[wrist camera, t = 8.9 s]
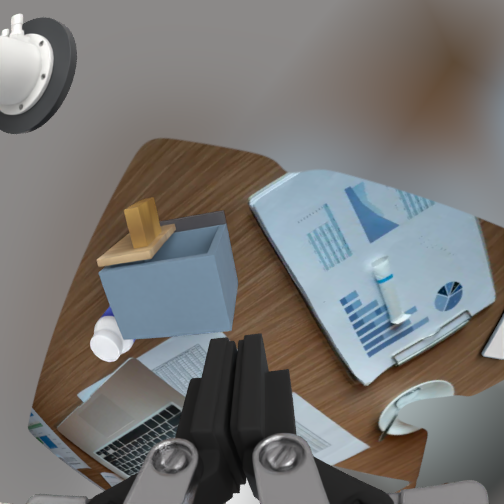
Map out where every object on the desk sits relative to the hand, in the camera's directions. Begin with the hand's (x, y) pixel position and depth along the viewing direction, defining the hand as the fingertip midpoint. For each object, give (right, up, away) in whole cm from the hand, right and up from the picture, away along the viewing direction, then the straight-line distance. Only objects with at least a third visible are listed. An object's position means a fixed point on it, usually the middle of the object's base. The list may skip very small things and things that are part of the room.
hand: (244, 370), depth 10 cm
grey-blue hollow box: (-8, +3, +30) cm, 31 cm away
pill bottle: (-17, -4, +33) cm, 37 cm away
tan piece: (-12, +8, +27) cm, 31 cm away
